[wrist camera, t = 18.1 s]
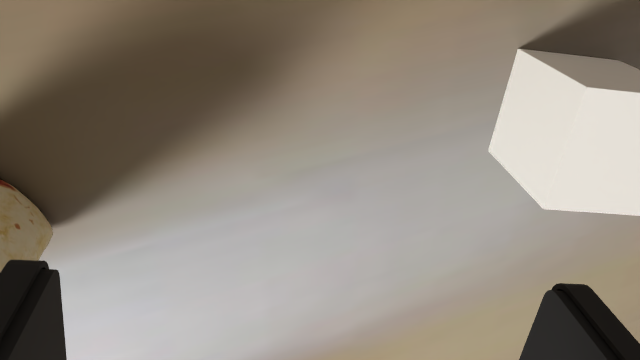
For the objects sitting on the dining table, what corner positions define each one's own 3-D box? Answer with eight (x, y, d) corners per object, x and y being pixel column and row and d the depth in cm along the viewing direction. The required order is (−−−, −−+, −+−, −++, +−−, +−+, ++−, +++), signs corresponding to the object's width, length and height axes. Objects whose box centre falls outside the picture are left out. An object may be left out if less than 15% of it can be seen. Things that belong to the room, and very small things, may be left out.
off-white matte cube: (518, 48, 38) (586, 87, 31) (618, 60, 40) (709, 100, 32) (488, 150, 42) (543, 209, 34) (581, 158, 43) (655, 216, 35)
